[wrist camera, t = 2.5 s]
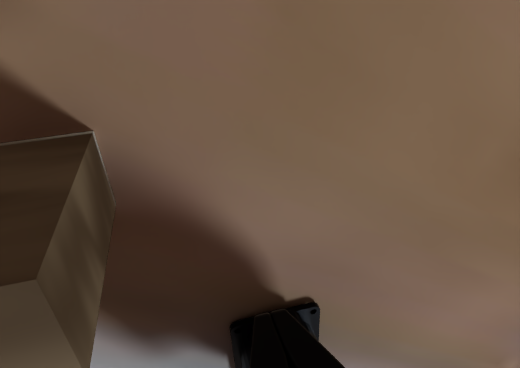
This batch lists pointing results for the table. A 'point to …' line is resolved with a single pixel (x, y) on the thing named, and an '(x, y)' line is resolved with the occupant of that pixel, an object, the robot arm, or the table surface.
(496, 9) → the table surface
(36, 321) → the walnut block
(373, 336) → the table surface
